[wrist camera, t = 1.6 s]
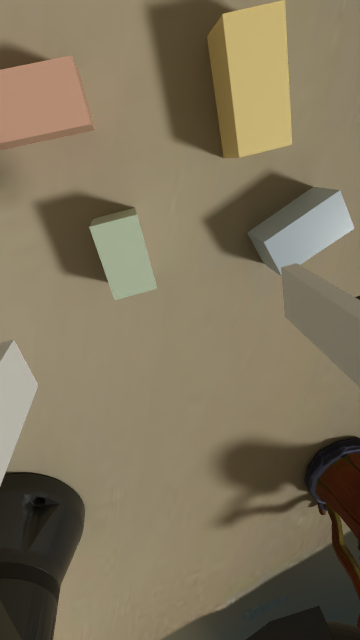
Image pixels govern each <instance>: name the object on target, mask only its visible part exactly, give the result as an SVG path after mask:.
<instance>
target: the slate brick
mask: <svg viewBox="0 0 360 640" xmlns="http://www.w3.org/2000/svg"><path fill="white" fill-rule="evenodd" d="M353 229H354V226H353V223H352V221H351V218H350V215H349V213H348V210H347V207H346V205H345V202H344V199H343V197H342V194H341V191H340V190H335V189H327V188H319V187H312V188H311V189H309V190H308V191H306V192H305V193H303V194H302V195H301V196H299V197H298V198H296V199H295V200H293V201H292V202H290V203H289V204H288V205H286V206H285V207H283V208H282V209H280V210H279V211H278V212H276V213H275V214H273V215H272V216H270V217H269V218H267V219H266V220H265V221H263V222H262V223H260V224H259V225H257V226H256V227H255V228H253V229H252V230H250V231H249V232H247V234H248V236H249V237H250V239H251V241H252V243H253V245H254V246H255V248H256V250H257V252H258V254H259V256H260V257H261V259H262V261H263V263H264V264H265V265H267V266H268V267H269V268H271V269H272V270H274V271H275V272H276V273H278V274H279V275H281V276H282V272H281V267H284V266H288V265H291V264H295V263H297V264H298V265H300V264H302V263H303V262H305V261H306V260H308V259H309V258H311V257H312V256H314V255H315V254H317V253H318V252H320V251H321V250H323V249H324V248H326V247H327V246H329V245H330V244H332V243H333V242H335V241H336V240H338V239H339V238H341V237H342V236H344V235H345V234H347V233H348V232H350V231H351V230H353Z"/></svg>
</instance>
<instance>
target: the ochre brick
mask: <svg viewBox="0 0 360 640" xmlns="http://www.w3.org/2000/svg"><path fill="white" fill-rule="evenodd" d="M207 41H208V48H209V56H210V63H211V70H212V78H213V85H214V92H215V99H216V107H217V114H218V121H219V129H220V136H221V143H222V150H223V158H240V157H244V156H248V155H252V154H256V153H260V152H264V151H268V150H272V149H276V148H280V147H284V146H288V145H292V134H291V114H290V93H289V73H288V52H287V32H286V12H285V0H282V1H278V2H273V3H269V4H264V5H260V6H256V7H251V8H247V9H242V10H238V11H233V12H229V13H224V14H222V15H221V17H220V18H219V20H218V21H217V23H216V24H215V25H214V27H213V28H212V30H211V31H210V33H209V34H208V36H207Z"/></svg>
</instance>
